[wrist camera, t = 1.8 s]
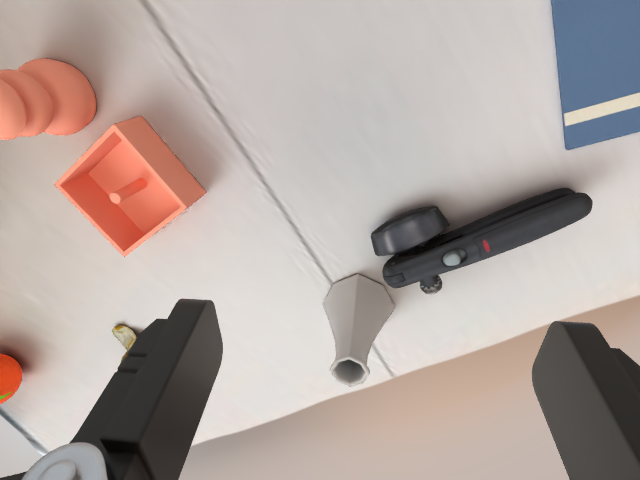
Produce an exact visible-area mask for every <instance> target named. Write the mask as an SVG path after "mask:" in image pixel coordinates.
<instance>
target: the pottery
mask: <svg viewBox="0 0 640 480" xmlns="http://www.w3.org/2000/svg"><path fill="white" fill-rule="evenodd" d="M95 112H96V98H95V94H94V91H93V89H92V87H91V85H90V83H89V81H88V80H87V78H86V77H85V76H84V75H83V74H82V73H81V72H80V71H79V70H78V69H76V68H75V67H73V66H72V65H69V64H67V63H63V62H60V61H56V60H52V59H35V60H32V61H29V62H26V63H25V64H23V65H22V66H21V67H19V68H18V69H17V70H1V71H0V139H3V140H11V139H15V138H17V137H18V136H35V135H38V134H40V133H42V132H45V133H48V134H53V135H69V134H73V133H76V132H78V131H79V130H81V129H82V128H84V127H85V126H86V125H88V124H89V123H90V122H91V121H92V119H93V118H94V116H95ZM54 185H55V186H56V187H57V188H58V189H59V190H60V191H61V192H62V193H63V194H64V195H65V196H66V197H67V198H68V199H69V201H70V202H71V203H72V204H73V205H74V206H75V207H76V208H77V209H78V210H79V211H80V212H81V213H82V214H83V215H84V216H85V217H86V218H87V219H88V220H89V221H90V222H91V223H92V224H93V225H94V226H95V227H96V228H97V229H98V230H99V231H100V233H101V234H102V235H103V236H104V237H105V238H106V239H107V240H108V241H109V242H110V243H111V244H112V245H113V246H114V247H115V248H116V249H117V250H118V251H119V252H120V253H121V254H122V255H123V256H124V257H125V256H126V255H128V254H129V253H130V252H132V251H133V250H134V249H135V248H137V247H138V246H139V245H141V244H142V243H143V242H144V241H146V240H147V239H148V238H150V237H151V236H152V235H153V234H155V233H156V232H157V231H159V230H160V229H161V228H162V227H164V226H165V225H166V224H168V223H169V222H170V221H171V220H173V219H174V218H175V217H177V216H178V215H179V214H180V213H182V212H183V211H184V210H186V209H187V208H188V207H189V206H191V205H192V204H193V203H194V202H196V201H197V200H198V199H199V198H201V197H202V196H203V195H204V194H206V193H207V192H206V191H205V190H204V189H203V188H202V186H201V185H200V184H199V183H198V182H197V181H196V179H195V178H194V177H193V176H192V175H191V174H190V172H189V171H188V170H187V169H186V168H185V166H184V165H183V164H182V163H181V162H180V161H179V159H178V158H177V157H176V156H175V155H174V153H173V152H172V151H171V150H170V149H169V148H168V146H167V145H166V144H165V143H164V142H163V140H162V139H161V138H160V137H159V136H158V135H157V133H156V132H155V131H154V130H153V129H152V128H151V126H150V125H149V124H148V123H147V122H146V120H145V119H144V118H143V117H142V116H139V117H136V118H132V119H129V120H126V121H122V122H119V123H115V124H113V125H112V126H111V127H110V128H109V129H108V130H107V131H106V132H105V133H104V134H103V135H102V136H101V137H100V138H99V139H98V140H97V141H96V142H95V143H94V144H93V145H92V146H91V147H90V148H89V149H88V150H87V151H86V152H85V153H84V154H83V155H82V156H81V157H80V158H79V159H78V161H77V162H76V163H75V164H74V165H73V166H72V167H71V168H70V169H69V170H68V171H67V172H66V173H65V174H64V175H63V176H62V177H61V178H60V179H59V180H58V181H57V182H56V183H55V184H54Z"/></svg>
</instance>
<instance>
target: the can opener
mask: <svg viewBox="0 0 640 480" xmlns="http://www.w3.org/2000/svg"><path fill="white" fill-rule="evenodd" d="M591 209H592V199H591V198H590V197H589V196H588V195H587V194H585V193H576V192H575V191H573V190H572V189H569V188H561V189H557V190H554V191H551V192H548V193H544V194H542V195H538V196H536V197H533V198H530V199H527V200H525V201H522V202H519V203H517V204H514V205H512V206H509V207H507V208H504V209H502V210H500V211H497V212H495V213H493V214H491V215H488V216H486V217H484V218H482V219H479V220H477V221H475V222H473V223H470V224H468V225H466V226H463V227H461V228H458V229H456V230H453V231H450V232H448V233H445V234H441V235H440V233H441V232H443V231H444V230H445V229H447V227H448V226H449V223H448V221H447V220H446V218H445V217H444V216H443V214H442V213H441V211H440V210H439V208H438V207H437V206H430V207H424V208H420V209H416V210H412V211H409V212H406V213H403V214H401V215H398V216H396V217H394V218H392V219H391V220H389V221H387V222H386V223H384V224H383V225H381V226H380V227H378V228H377V229H376V230H375V231H374V232H372V234H371V239H372V244H373V248H374V252H375V254H376V255H377V256H386V255H392V254H394V256H393V257H392V258H390V259H389V260H388V261H387V262H386V263H385V265H384V267H383V271H382V272H383V278H384V280H385V282H386V283H387V284H388V285H389V286H391V287H393V288H400V287H404V286H407V285H409V284H412V283H416V282H418V281H420V287H421V289H422V291H424V292H425V293H426V294H435V293H437V292H438V291H439V290H440V289H441V288H442V280H441V278H440V276H438V275H439V274H442V273H445V272H448V271H451V270H454V269H457V268H461V267H463V266H467V265H470V264H472V263H475V262H478V261H481V260H484V259H487V258H489V257H492V256H495V255H497V254H500V253H503V252H506V251H508V250H511V249H514V248H516V247H519V246H522V245H524V244H527V243H529V242H531V241H534V240H536V239H539V238H541V237H543V236H546V235H548V234H550V233H553V232H555V231H557V230H559V229H561V228H564V227H566V226H568V225H570V224H572V223H574V222H576V221H578V220H580V219H582V218H584V217H585V216H587V215H588V214H589V213H590V211H591Z"/></svg>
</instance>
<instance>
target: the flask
mask: <svg viewBox="0 0 640 480" xmlns="http://www.w3.org/2000/svg"><path fill="white" fill-rule="evenodd" d="M323 306H324V309H325V312H326V315H327V317H328V320H329V323H330V326H331V329H332V332H333V336H334V339H335V347H336V357H335V361H334V362H333V364H332V366H331V367H330V372H331V373H332V375H333V376H334V378H335V379H336V381H338V382H340V383H342V384H345V385H347V386H349V387H351V386H355V385H358V384H361V383H363V382H364V381H365V379H366V378H367V377H368V375H369V374H370V370H369V368H368V367H367V357H368V354H369V351H370V348H371V345H372V343H373V341H374V339H375V338H376V336H377V335H378V333H379V331H380V330H381V328H382V327H383V325H384V324H385V322H386V321H387V319H388V318H389V316H390V315H391V313H392V312H393V310H394V308H395V305H394V303H393V302H392V300H391V298H390V296H389V295H388V293H387V291H386V290H385V288H384V286H383V285H381V284H379V283H377V282H374V281H372V280H370V279H368V278H366V277H363V276H361V275H359V274H356V275H354V276H351V277H349V278H346V279H344V280H341V281H339V282H336V283H334V284H333V285H332V287H331V289H330V291H329V293H328V295H327V297H326V298H325V300H324V302H323Z"/></svg>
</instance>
